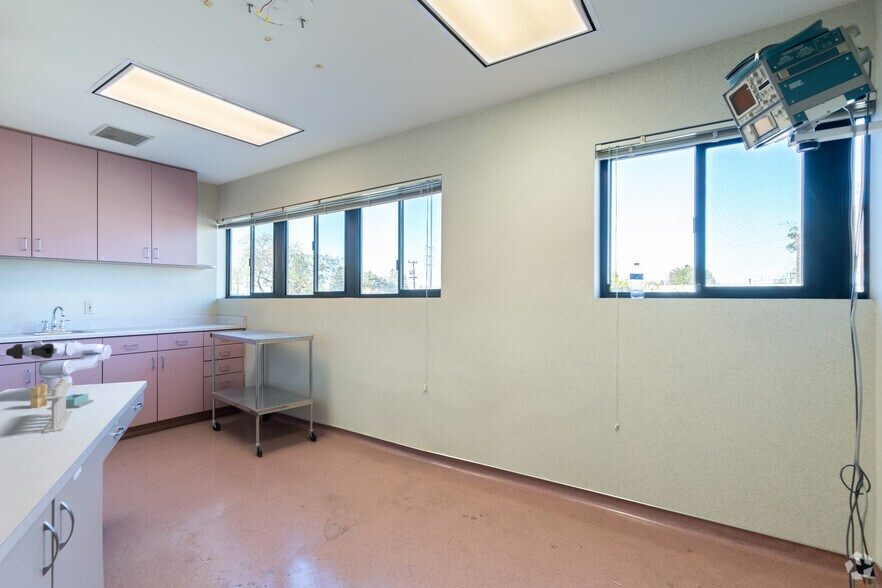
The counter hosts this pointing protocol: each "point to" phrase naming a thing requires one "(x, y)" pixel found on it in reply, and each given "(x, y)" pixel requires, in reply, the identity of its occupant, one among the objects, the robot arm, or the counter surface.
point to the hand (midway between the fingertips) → (19, 352)
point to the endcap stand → (77, 400)
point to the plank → (38, 396)
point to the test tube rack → (58, 407)
